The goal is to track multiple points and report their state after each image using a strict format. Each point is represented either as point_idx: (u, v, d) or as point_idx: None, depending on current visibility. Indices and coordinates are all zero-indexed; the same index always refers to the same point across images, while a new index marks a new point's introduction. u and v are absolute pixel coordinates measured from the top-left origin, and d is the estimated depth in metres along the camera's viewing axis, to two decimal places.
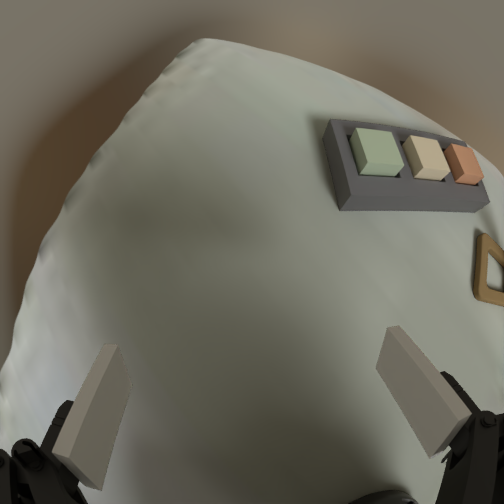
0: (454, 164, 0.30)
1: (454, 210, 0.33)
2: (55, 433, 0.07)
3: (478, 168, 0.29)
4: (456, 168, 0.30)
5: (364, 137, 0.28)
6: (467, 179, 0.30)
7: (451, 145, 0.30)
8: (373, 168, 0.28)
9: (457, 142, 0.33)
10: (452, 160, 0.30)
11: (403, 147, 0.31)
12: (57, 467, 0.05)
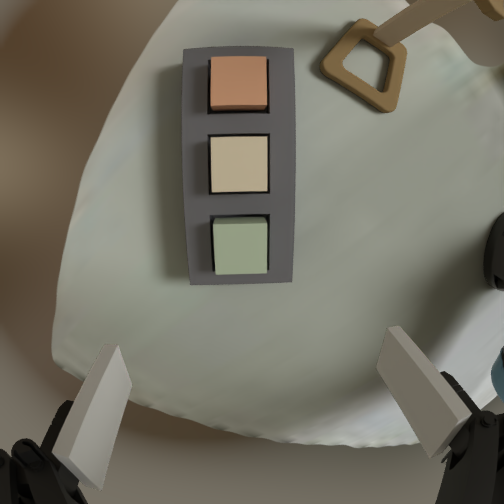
0: (242, 107, 0.24)
1: None
2: (55, 434, 0.07)
3: (251, 61, 0.21)
4: (250, 106, 0.24)
5: (230, 267, 0.27)
6: None
7: (213, 105, 0.23)
8: None
9: (188, 68, 0.23)
10: (235, 107, 0.24)
11: None
12: (57, 467, 0.05)
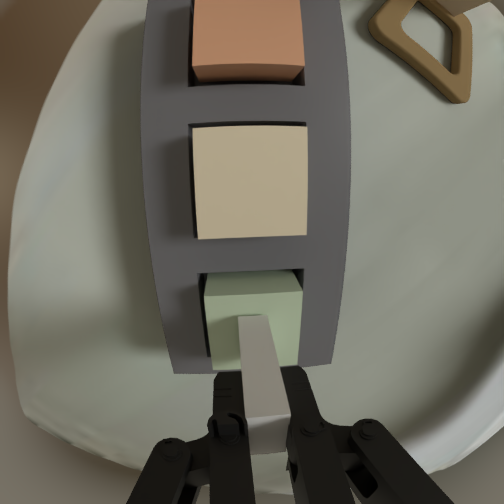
0: (255, 70, 0.11)
1: None
2: (224, 405, 0.09)
3: None
4: (270, 70, 0.11)
5: (236, 360, 0.15)
6: None
7: (198, 65, 0.10)
8: None
9: (155, 13, 0.10)
10: (240, 71, 0.11)
11: None
12: None
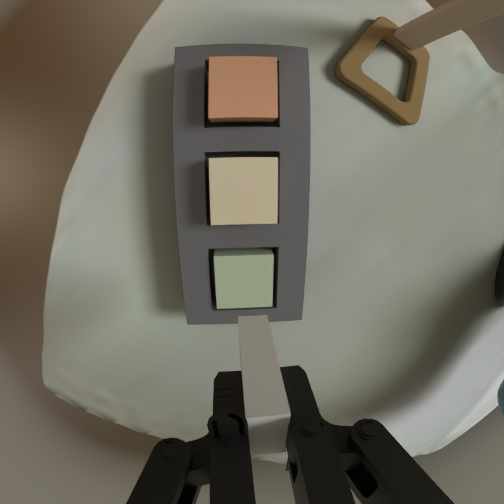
0: (247, 119, 0.20)
1: None
2: (224, 405, 0.09)
3: (258, 62, 0.17)
4: (257, 119, 0.20)
5: (232, 301, 0.25)
6: None
7: (212, 117, 0.19)
8: None
9: (180, 70, 0.19)
10: (238, 119, 0.20)
11: None
12: None
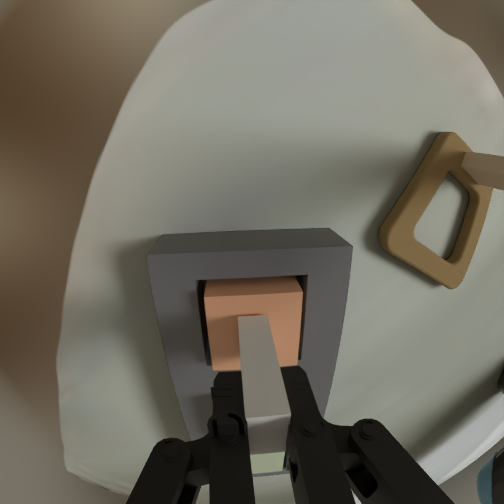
0: None
1: None
2: (224, 405, 0.09)
3: (276, 302, 0.14)
4: None
5: None
6: None
7: None
8: None
9: (162, 294, 0.15)
10: None
11: None
12: None
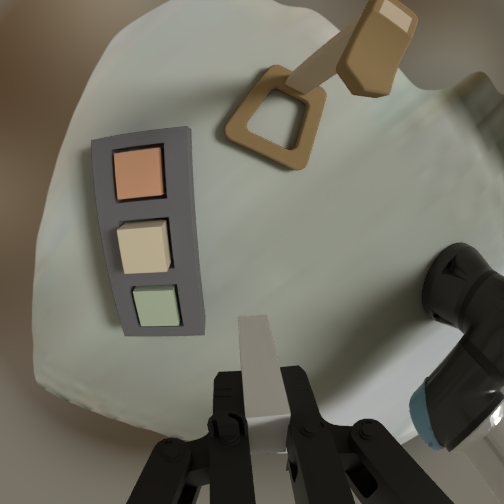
0: None
1: (192, 177, 0.32)
2: (224, 405, 0.09)
3: (146, 154, 0.26)
4: None
5: (150, 321, 0.33)
6: (162, 175, 0.29)
7: (120, 198, 0.28)
8: (178, 312, 0.34)
9: (96, 159, 0.26)
10: None
11: None
12: None
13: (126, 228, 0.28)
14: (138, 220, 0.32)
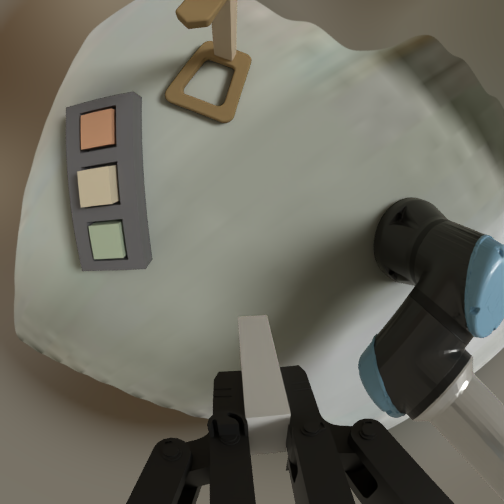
0: (101, 146, 0.33)
1: (140, 133, 0.36)
2: (224, 405, 0.09)
3: (102, 113, 0.30)
4: (105, 145, 0.33)
5: (101, 254, 0.37)
6: (115, 130, 0.33)
7: (83, 149, 0.32)
8: (124, 246, 0.38)
9: (68, 121, 0.30)
10: (97, 147, 0.33)
11: None
12: None
13: (84, 170, 0.32)
14: None
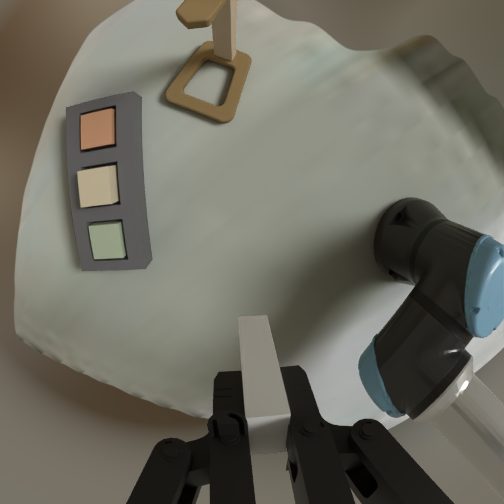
0: (101, 146, 0.33)
1: (140, 133, 0.36)
2: (224, 405, 0.09)
3: (102, 114, 0.30)
4: (105, 145, 0.33)
5: (101, 254, 0.37)
6: (115, 130, 0.33)
7: (83, 149, 0.32)
8: (124, 246, 0.38)
9: (68, 121, 0.30)
10: (97, 147, 0.33)
11: None
12: None
13: (84, 170, 0.32)
14: None
